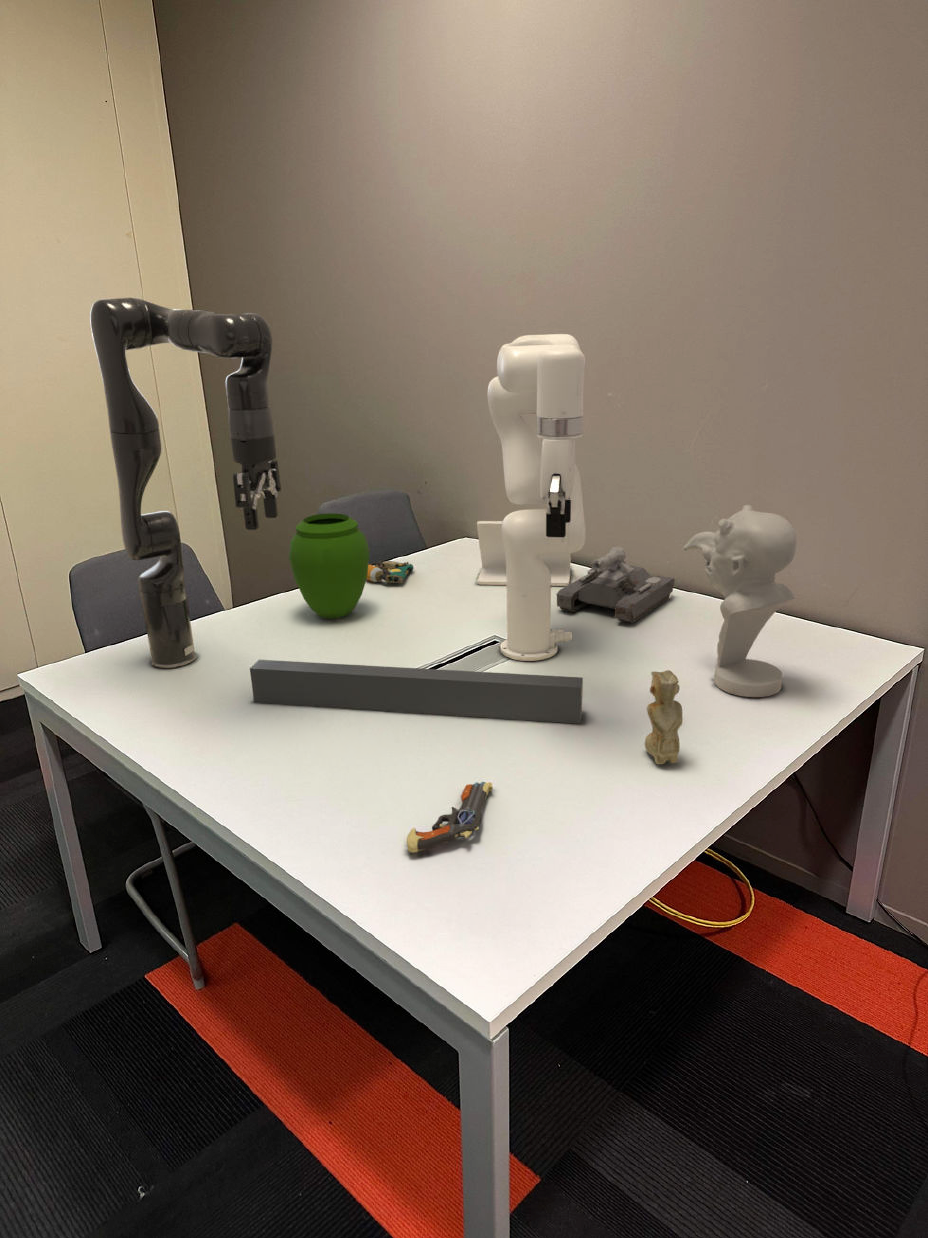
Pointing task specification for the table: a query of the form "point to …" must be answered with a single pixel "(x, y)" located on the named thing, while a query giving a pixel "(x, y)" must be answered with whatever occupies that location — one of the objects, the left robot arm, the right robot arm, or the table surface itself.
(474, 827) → the toy gun
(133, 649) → the table surface
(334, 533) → the vase
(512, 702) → the beam
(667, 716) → the sculpture
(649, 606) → the toy
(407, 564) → the spray gun
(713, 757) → the table surface
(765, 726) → the table surface
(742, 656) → the bust sculpture
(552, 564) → the tablet stand
